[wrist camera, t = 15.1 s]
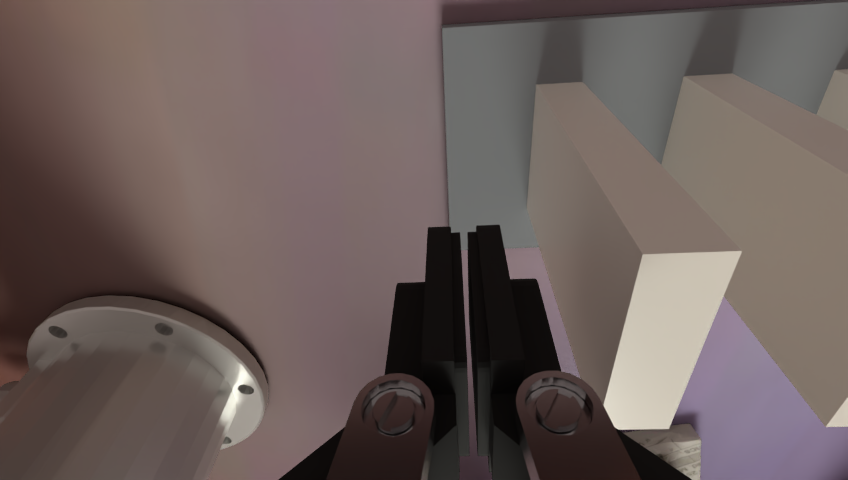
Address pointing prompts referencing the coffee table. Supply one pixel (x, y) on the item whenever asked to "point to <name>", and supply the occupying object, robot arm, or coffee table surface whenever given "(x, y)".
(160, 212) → the coffee table surface
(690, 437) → the packaged product
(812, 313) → the domino
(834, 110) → the domino
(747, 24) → the domino mat
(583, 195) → the domino
